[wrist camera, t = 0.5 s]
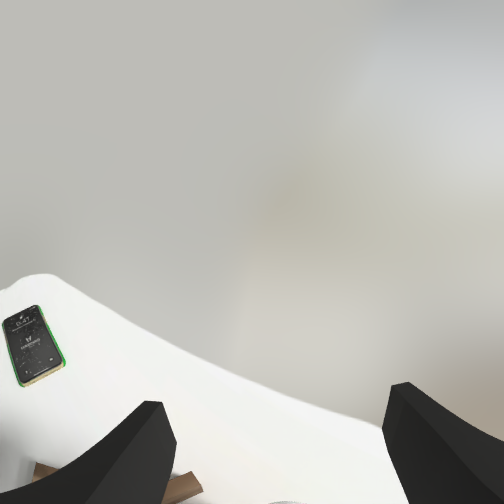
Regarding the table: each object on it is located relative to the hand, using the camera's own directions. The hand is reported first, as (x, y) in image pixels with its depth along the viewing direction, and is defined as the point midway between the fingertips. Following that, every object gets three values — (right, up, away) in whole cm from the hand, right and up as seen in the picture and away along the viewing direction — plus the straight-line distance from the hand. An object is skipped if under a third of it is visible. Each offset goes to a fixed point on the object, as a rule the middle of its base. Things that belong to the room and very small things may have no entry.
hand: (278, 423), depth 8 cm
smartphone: (-31, -8, +24) cm, 40 cm away
